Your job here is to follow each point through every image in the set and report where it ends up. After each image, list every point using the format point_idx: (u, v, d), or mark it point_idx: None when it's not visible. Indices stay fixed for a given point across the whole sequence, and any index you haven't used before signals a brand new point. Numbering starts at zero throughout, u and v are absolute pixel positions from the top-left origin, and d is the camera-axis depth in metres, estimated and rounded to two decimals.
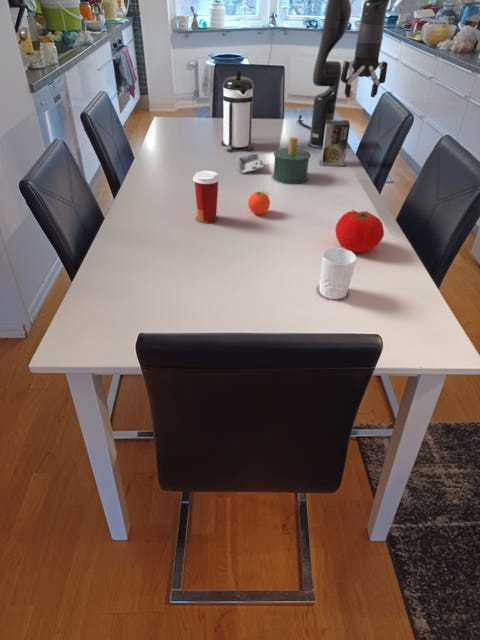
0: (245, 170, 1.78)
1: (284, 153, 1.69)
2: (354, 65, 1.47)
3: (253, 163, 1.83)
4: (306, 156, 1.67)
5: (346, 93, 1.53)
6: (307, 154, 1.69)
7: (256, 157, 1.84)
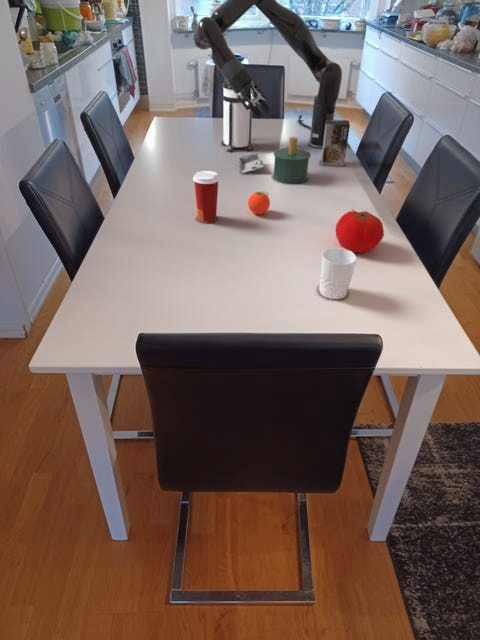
0: (245, 170, 1.78)
1: (284, 153, 1.69)
2: (246, 92, 1.60)
3: (253, 163, 1.83)
4: (306, 156, 1.67)
5: (259, 113, 1.61)
6: (307, 154, 1.69)
7: (256, 157, 1.84)
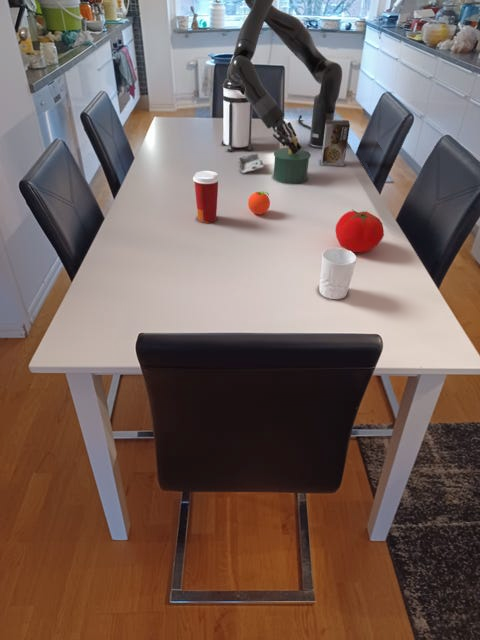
0: (245, 170, 1.78)
1: (284, 153, 1.69)
2: (279, 128, 1.62)
3: (253, 163, 1.83)
4: (306, 156, 1.67)
5: (295, 149, 1.65)
6: (307, 154, 1.69)
7: (256, 157, 1.84)
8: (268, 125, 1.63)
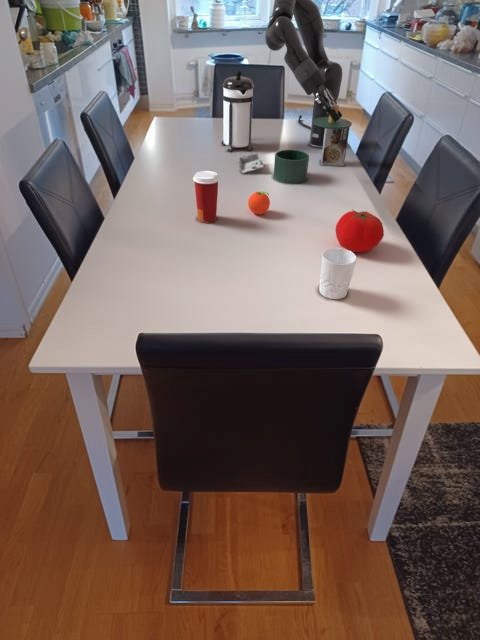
0: (245, 170, 1.78)
1: (324, 121, 1.62)
2: (320, 94, 1.55)
3: (253, 163, 1.83)
4: (347, 124, 1.60)
5: (336, 116, 1.58)
6: (349, 122, 1.61)
7: (256, 157, 1.84)
8: (309, 91, 1.56)
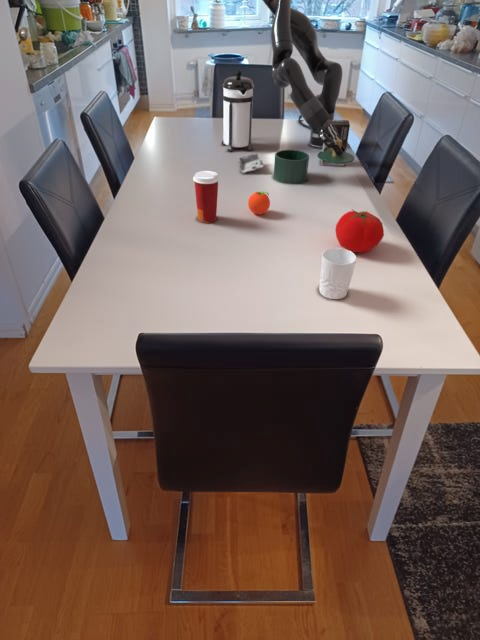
0: (245, 170, 1.78)
1: (328, 155, 1.69)
2: (325, 130, 1.62)
3: (253, 163, 1.83)
4: (350, 158, 1.66)
5: (340, 151, 1.65)
6: (351, 157, 1.68)
7: (256, 157, 1.84)
8: (313, 127, 1.63)
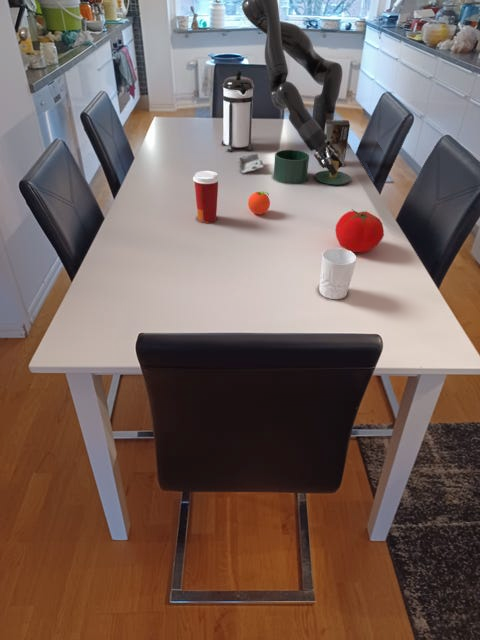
0: (245, 170, 1.78)
1: (325, 176, 1.73)
2: (322, 150, 1.66)
3: (253, 163, 1.83)
4: (347, 179, 1.71)
5: (334, 171, 1.67)
6: (348, 177, 1.73)
7: (256, 157, 1.84)
8: (311, 148, 1.68)
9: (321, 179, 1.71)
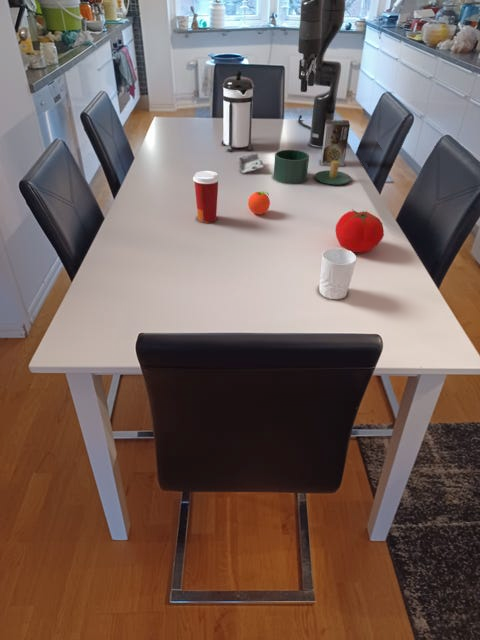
0: (245, 170, 1.78)
1: (325, 176, 1.73)
2: (308, 61, 1.57)
3: (253, 163, 1.83)
4: (347, 179, 1.71)
5: (305, 88, 1.62)
6: (348, 177, 1.73)
7: (256, 157, 1.84)
8: (301, 51, 1.57)
9: (321, 179, 1.71)
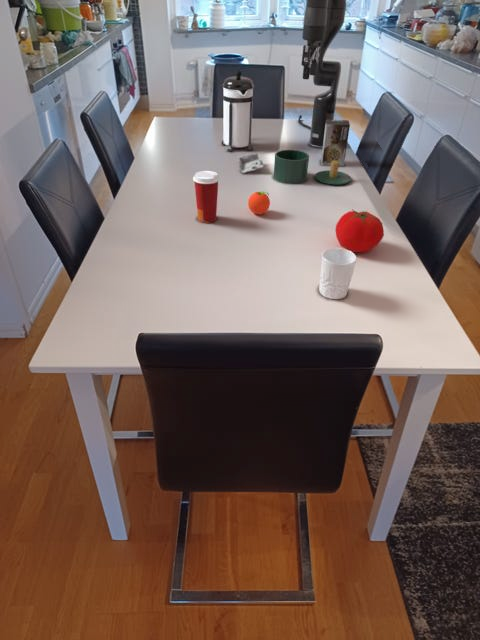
0: (245, 170, 1.78)
1: (325, 176, 1.73)
2: (311, 48, 1.56)
3: (253, 163, 1.83)
4: (347, 179, 1.71)
5: (307, 76, 1.60)
6: (348, 177, 1.73)
7: (256, 157, 1.84)
8: (305, 37, 1.56)
9: (321, 179, 1.71)
